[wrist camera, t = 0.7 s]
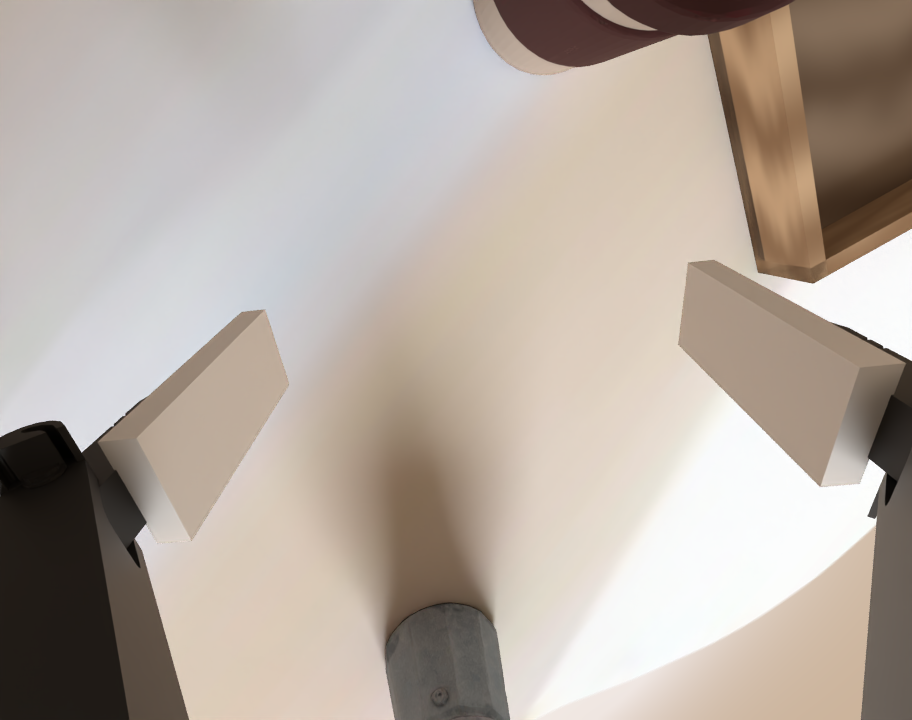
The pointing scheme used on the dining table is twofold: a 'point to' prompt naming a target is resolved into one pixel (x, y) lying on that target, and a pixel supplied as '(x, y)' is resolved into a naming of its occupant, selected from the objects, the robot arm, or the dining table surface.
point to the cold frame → (820, 130)
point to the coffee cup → (601, 27)
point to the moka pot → (446, 666)
